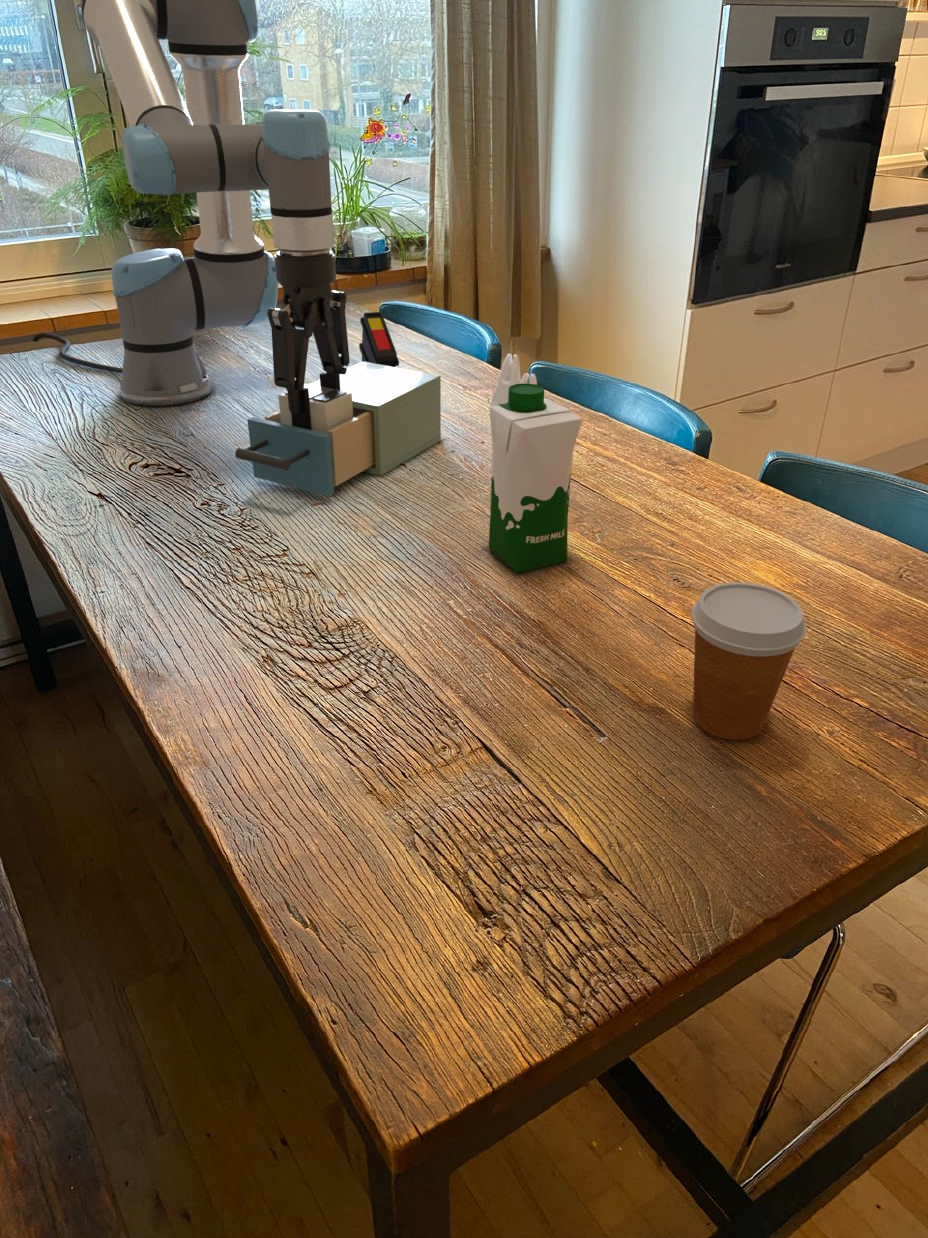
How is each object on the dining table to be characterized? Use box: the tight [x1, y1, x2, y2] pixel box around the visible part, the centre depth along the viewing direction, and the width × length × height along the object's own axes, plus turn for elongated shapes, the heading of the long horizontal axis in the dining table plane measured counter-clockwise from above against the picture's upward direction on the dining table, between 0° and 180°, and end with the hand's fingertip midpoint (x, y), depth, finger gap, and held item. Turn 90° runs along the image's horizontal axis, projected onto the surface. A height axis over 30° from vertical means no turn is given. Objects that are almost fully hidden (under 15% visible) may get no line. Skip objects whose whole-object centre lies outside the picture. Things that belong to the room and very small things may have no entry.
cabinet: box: [309, 361, 442, 477], centre depth 138 cm, size 17×14×10 cm
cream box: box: [277, 383, 353, 434], centre depth 126 cm, size 8×6×5 cm
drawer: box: [234, 407, 375, 497], centre depth 127 cm, size 21×13×8 cm, turn 150°
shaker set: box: [489, 353, 538, 407], centre depth 147 cm, size 12×4×11 cm, turn 22°
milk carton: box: [488, 383, 583, 574], centre depth 106 cm, size 9×9×20 cm
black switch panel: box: [358, 311, 400, 367], centre depth 155 cm, size 4×13×15 cm, turn 19°
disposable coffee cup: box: [691, 581, 807, 741], centre depth 81 cm, size 10×10×12 cm
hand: (317, 426), depth 127 cm, fingers closed on cream box, 6 cm apart
